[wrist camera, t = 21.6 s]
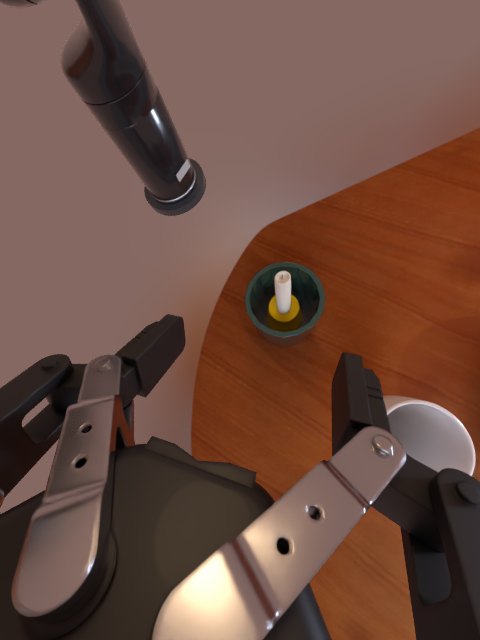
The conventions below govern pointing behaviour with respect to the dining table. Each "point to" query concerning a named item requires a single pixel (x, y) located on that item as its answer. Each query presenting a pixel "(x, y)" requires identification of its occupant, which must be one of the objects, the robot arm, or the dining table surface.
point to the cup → (302, 289)
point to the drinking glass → (430, 433)
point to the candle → (283, 306)
